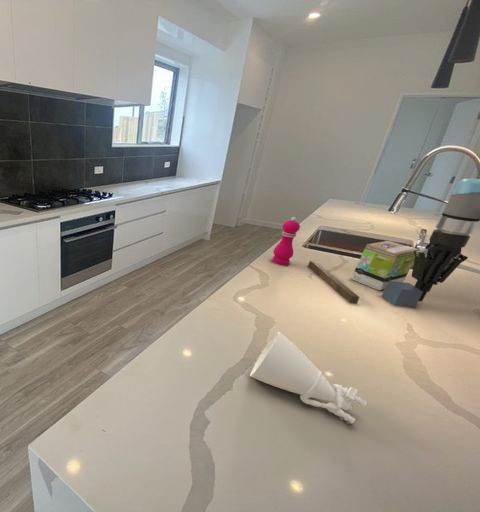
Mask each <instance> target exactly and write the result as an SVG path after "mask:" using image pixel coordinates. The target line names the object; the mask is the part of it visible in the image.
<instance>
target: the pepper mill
mask: <svg viewBox="0 0 480 512" xmlns="http://www.w3.org/2000/svg"><path fill="white" fill-rule="evenodd" d="M300 229H301V225H300V223H299V222H298V221H297V218H296V217H295V216H292V217H290V220H289V219H288V220H286V221H284V223H282V232H281V235H282V236H281V240H280V242H279V243H278V244H276V246H275V247H274V249H273V251H272V254H273V256H272V260H271V261H272V262H273V263H274V264H277V265H280V266H281V265H282V266H288V265H289V264H290V262H291V260H290V259H291V258H292V257H293V256H294V247H293V241H294V238H296V237H297V236H296V235H297V232H298V231H299V230H300Z"/></svg>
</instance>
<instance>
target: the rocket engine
mask: <svg viewBox="0 0 480 512" xmlns="http://www.w3.org/2000/svg"><path fill="white" fill-rule="evenodd" d="M249 376H250V377H251V378H253V379H254V380H257V381H260V382H262V383H265V384H267V385H270V386H273V387H275V388H278V389H281V390H284V391H287V392H290V393H294V394H298V395H299V399H300V401H302V402H303V403H304V404H306V405H308V406H313V407H317V408H322V409H326V410H327V411H328V412H329V413H332V414H334V415H335V416H337V417H340V420H344V421H346V424H354V422H355V420H356V418H355V417H354V416H352V415H350V413H347V412H345V411H351V410H352V408H353V405H352V404H356V405H357V407H358V408H365V407H366V406H367V404H368V403H367V402H368V401H366V400H365V399H364V398H363V399H362V398H361V397H360V396H358V392H359V390H358V389H357V388H355V387H353V386H350V387H349V388H348V387H344V386H342V384H338V383H337V384H336V383H333V384H332V385H331V384H330V381H328V380H327V378H326V377H325V376H324V375H323V372H322V370H320V369H318V368H317V367H316V366H315V365H314V364H313V362H312V361H311V360H310V359H309V358H308V357H307V356H306V355H305V354H304V353H303V352H302V351H301V350H300V349H299V347H298V346H296V345H295V344H294V343H293V342H292V341H291V340H290V339H289V338H288V337H287V336H285V335H284V334H283V333H281V332H280V331H277V332H276V333H275V334H274V335H273V337H272V338H271V339H270V341H269V342H268V343H267V345H266V346H265V348H264V349H263V351H262V352H261V354H260V356H259V357H258V359H257V361H256V362H255V364H254V365H253V367H252V369H251V371H250V374H249ZM312 398H313V399H312ZM315 399H316V400H315ZM319 400H322V401H328V402H327V403H325V402H321V401H319Z"/></svg>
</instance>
